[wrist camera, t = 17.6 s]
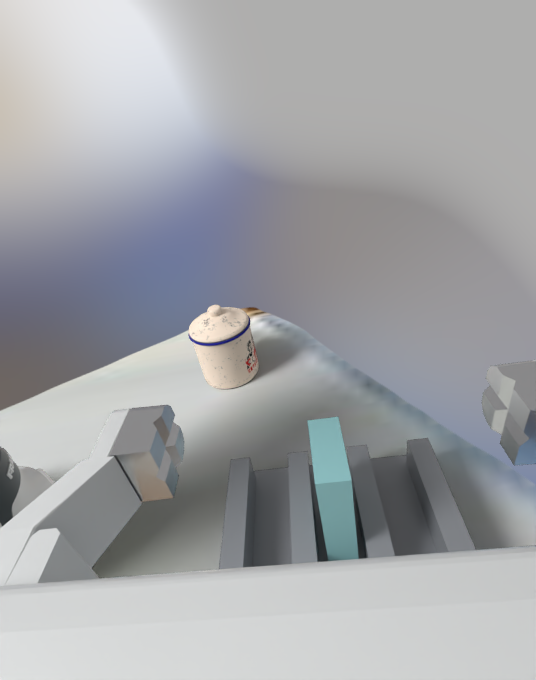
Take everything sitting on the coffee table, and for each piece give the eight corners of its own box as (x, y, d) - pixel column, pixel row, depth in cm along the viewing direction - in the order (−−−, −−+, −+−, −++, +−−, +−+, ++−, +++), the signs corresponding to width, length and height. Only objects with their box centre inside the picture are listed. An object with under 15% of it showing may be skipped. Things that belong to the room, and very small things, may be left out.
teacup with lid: (264, 382, 57) (249, 315, 51) (204, 397, 57) (181, 331, 51) (254, 340, 67) (240, 279, 61) (203, 352, 67) (183, 292, 61)
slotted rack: (227, 652, 31) (212, 628, 28) (241, 479, 44) (231, 451, 41) (492, 637, 29) (502, 610, 26) (422, 460, 42) (424, 430, 39)
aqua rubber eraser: (329, 570, 33) (314, 484, 27) (321, 506, 38) (307, 420, 32) (359, 567, 33) (351, 480, 26) (347, 503, 38) (338, 416, 31)
